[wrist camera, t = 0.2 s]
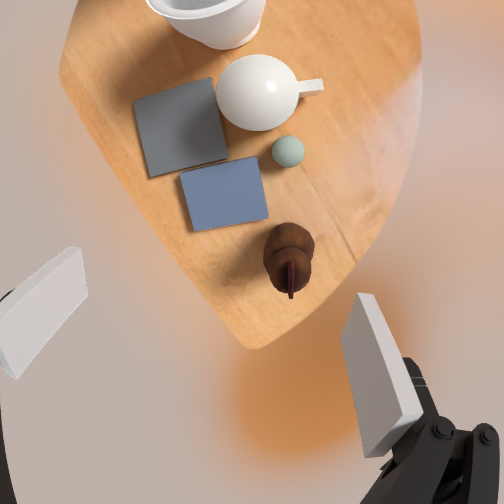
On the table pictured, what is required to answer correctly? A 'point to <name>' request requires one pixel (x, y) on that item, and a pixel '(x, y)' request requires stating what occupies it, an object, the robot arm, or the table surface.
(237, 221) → the book
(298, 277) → the wooden figurine
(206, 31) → the jar
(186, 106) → the coaster
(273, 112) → the mug
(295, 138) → the ball
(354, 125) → the table surface
